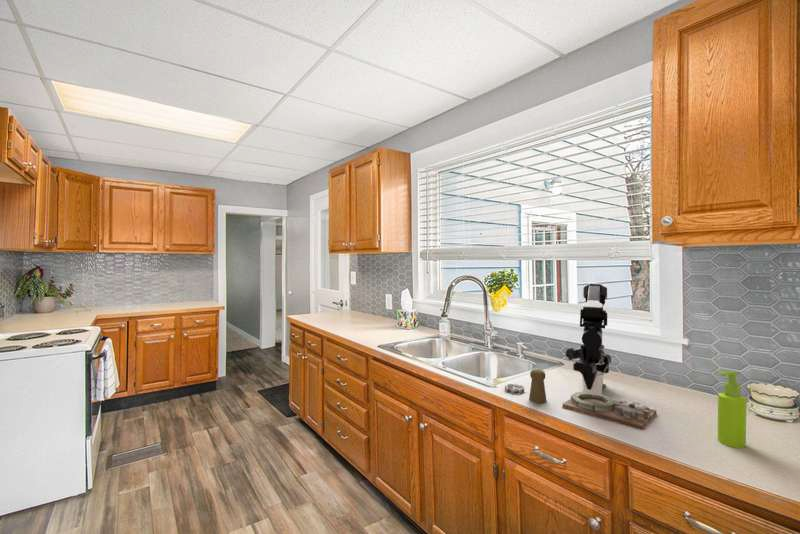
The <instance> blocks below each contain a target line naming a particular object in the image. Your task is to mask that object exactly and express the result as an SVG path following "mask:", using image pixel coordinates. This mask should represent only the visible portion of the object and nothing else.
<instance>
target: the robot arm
mask: <svg viewBox="0 0 800 534" xmlns="http://www.w3.org/2000/svg"><path fill="white" fill-rule="evenodd" d="M582 297H583V298H584V299H585V302H584V303H583V305H582V308H580V311H579V312H580V313H579V314H580V315H579V316H580V317H579V327H581V328H583V333H582V337H581V342H582V344H581V345H580V347H577V348H573V347H570V348H567V349H566V351H565V356H564V357H566V358H567V359H568V361H573V360H576V359H579V360H577V361H575V362H574V363H573V365H572V369H573V371H575V372H580V374H581V376H582V375H583V377H584V380H585V383H586V387H587V389H589V390H591V388H592V386H593V383H594V381H595V378H596V375H597V373H598V371H600V372H603V373H604V374H608V373H609V372H610V364H611V363H612V357H611V355H609V354H608V353H605V351H604V349H605V345H604V344H603V329H606V326H608V312H607V310H606V309H604V306H605V304H606V300H608V287H606V286H604V285H603V284H602V283H595V282H589V283H587V285H585V286H583V293H582ZM596 370H597V371H596ZM605 387H607V384H605V383H603V385H602V389H604V388H605Z"/></svg>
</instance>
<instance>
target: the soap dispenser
mask: <svg viewBox="0 0 800 534" xmlns="http://www.w3.org/2000/svg"><path fill="white" fill-rule="evenodd" d="M716 374H717V375H720V376H723V377H725V376H727V381H724V383H723V392H719V393H718V395H717V441H718V442H719V443H720V444H722V445H724V444H725V446H727V447H731V448H736V449H744V448H746V446H747V397H745V396H743V395H741V384H740V383H738V382H737V376H741V372H739V371H736V370H727V369H726V370H719V371H716Z"/></svg>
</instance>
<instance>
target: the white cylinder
mask: <svg viewBox="0 0 800 534" xmlns="http://www.w3.org/2000/svg"><path fill="white" fill-rule="evenodd" d="M596 371H597V370H596ZM604 375H605V373H603V372H600V371H598V373H597V375H596V378H595V381H594V383H593V386H592V388H591V390H589V389H587V387H586V383H585V380H584V377H583V375H582V374H581V378H582V389H583V390H582V392H585V393H587V394H591V395H600V394H602V392H603V388H602V385H603V384H604V377H605V376H604ZM602 395H603V394H602Z"/></svg>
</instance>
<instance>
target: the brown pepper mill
mask: <svg viewBox="0 0 800 534" xmlns="http://www.w3.org/2000/svg"><path fill="white" fill-rule="evenodd" d="M529 377H530V378H531V383H530V389H529V390H530V391H529V398H528V400H529V401H530V402H531V403H534V404H546V403H547V402H548V401H547V393H546V387H545V379H546V372H545V371H544V370H542V369H532V370H531V371H530V373H529Z"/></svg>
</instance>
